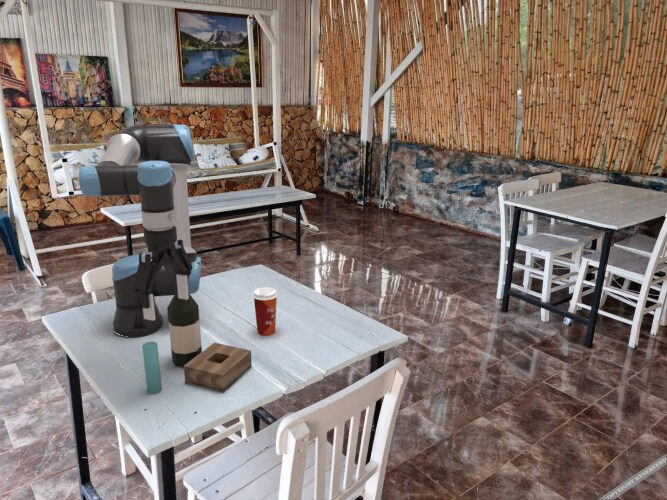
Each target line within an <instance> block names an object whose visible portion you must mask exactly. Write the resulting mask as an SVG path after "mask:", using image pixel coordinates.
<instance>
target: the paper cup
mask: <svg viewBox="0 0 667 500" xmlns="http://www.w3.org/2000/svg"><path fill="white" fill-rule="evenodd" d="M278 295H279V294H278V293H277V289H275V288H273V287H265V286H264V287H259V288H256V289H255V290H254V292H253V294H252V297H253V303H254V309H255V310H254V312H255V321H256V322H255V323H256V330H257V334H258V335H260V336H263V337H264V336H265V337H269V336H272V335H275V334H276V325H277V324H276V323H277V322H276V321H277V297H278Z"/></svg>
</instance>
